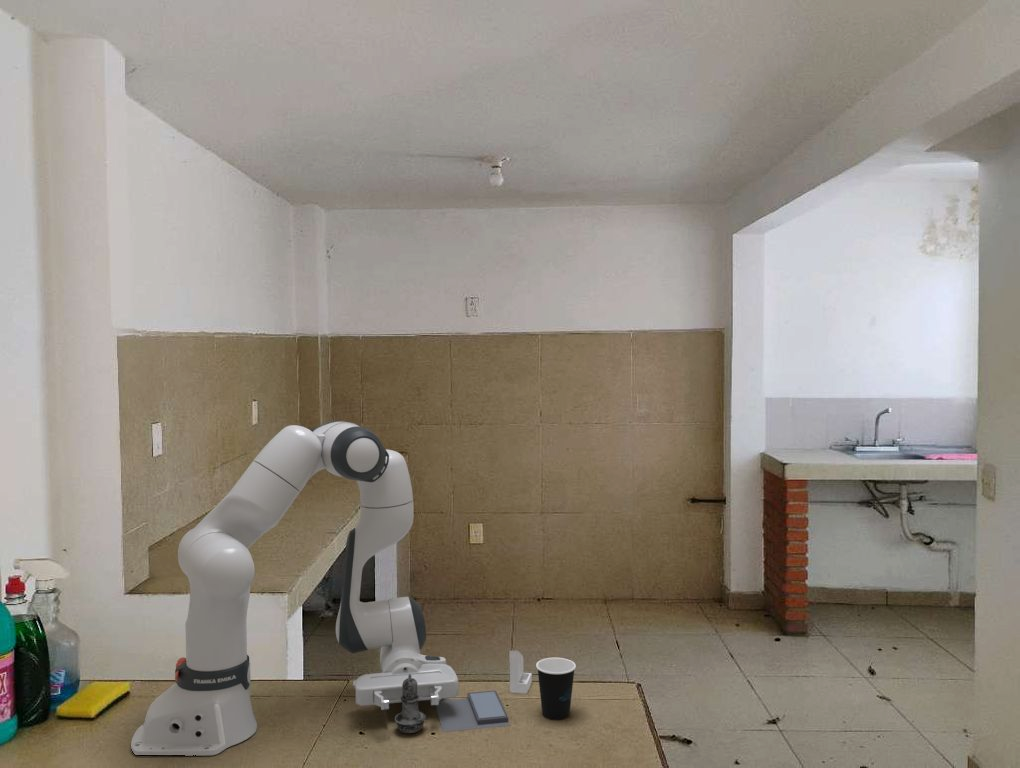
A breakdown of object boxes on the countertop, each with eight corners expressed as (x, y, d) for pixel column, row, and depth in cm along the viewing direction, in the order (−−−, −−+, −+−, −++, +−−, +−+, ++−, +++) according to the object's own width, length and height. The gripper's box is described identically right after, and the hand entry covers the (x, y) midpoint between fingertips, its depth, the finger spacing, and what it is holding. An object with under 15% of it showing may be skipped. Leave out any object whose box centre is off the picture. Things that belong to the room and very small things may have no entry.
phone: (477, 724, 165) (477, 720, 165) (467, 697, 177) (467, 692, 177) (508, 722, 166) (508, 717, 166) (495, 694, 179) (495, 690, 179)
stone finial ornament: (432, 733, 163) (431, 672, 163) (411, 745, 158) (411, 682, 158) (408, 725, 167) (408, 665, 166) (388, 737, 162) (387, 675, 161)
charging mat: (442, 737, 162) (442, 732, 162) (434, 705, 176) (434, 701, 175) (509, 730, 164) (509, 725, 164) (496, 700, 178) (496, 695, 178)
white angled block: (505, 693, 175) (509, 650, 179) (513, 700, 184) (517, 658, 188) (523, 695, 175) (526, 651, 179) (530, 701, 183) (533, 659, 187)
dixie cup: (574, 729, 165) (574, 673, 164) (533, 726, 166) (533, 671, 166) (577, 711, 173) (577, 658, 172) (538, 708, 174) (538, 656, 173)
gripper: (352, 664, 173) (354, 692, 159) (452, 656, 177) (462, 682, 163) (352, 694, 173) (354, 725, 160) (452, 686, 177) (462, 714, 164)
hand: (410, 703), depth 162 cm, fingers open, 8 cm apart
